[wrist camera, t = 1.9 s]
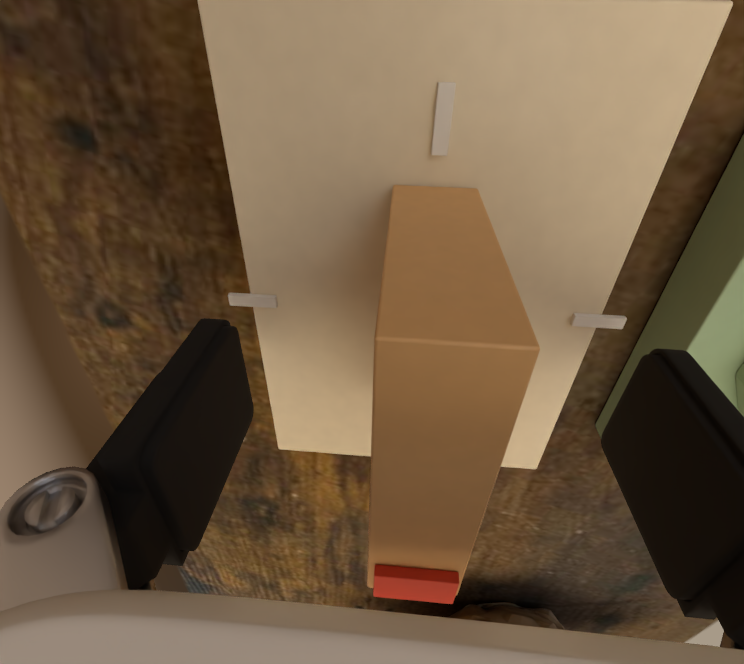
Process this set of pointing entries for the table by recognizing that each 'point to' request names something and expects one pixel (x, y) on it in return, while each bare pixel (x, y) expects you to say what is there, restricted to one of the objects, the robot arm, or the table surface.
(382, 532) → the handle
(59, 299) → the table surface
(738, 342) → the button block
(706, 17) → the panel
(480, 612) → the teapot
